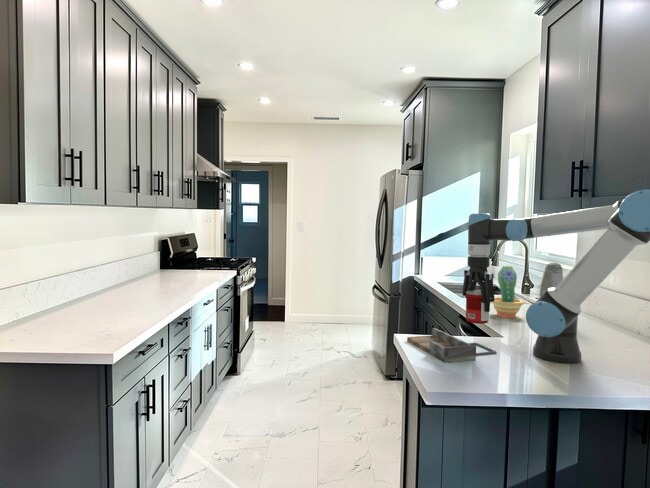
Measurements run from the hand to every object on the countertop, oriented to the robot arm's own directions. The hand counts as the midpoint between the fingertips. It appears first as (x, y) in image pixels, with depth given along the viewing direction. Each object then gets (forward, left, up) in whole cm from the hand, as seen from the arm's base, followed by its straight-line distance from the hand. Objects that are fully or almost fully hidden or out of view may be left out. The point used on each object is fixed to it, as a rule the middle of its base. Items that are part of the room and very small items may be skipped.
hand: (477, 317), depth 158 cm
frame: (+1, 0, -12) cm, 12 cm away
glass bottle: (+31, -66, -12) cm, 73 cm away
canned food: (0, 0, -2) cm, 2 cm away
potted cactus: (+45, -52, -12) cm, 69 cm away
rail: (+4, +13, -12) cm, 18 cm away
